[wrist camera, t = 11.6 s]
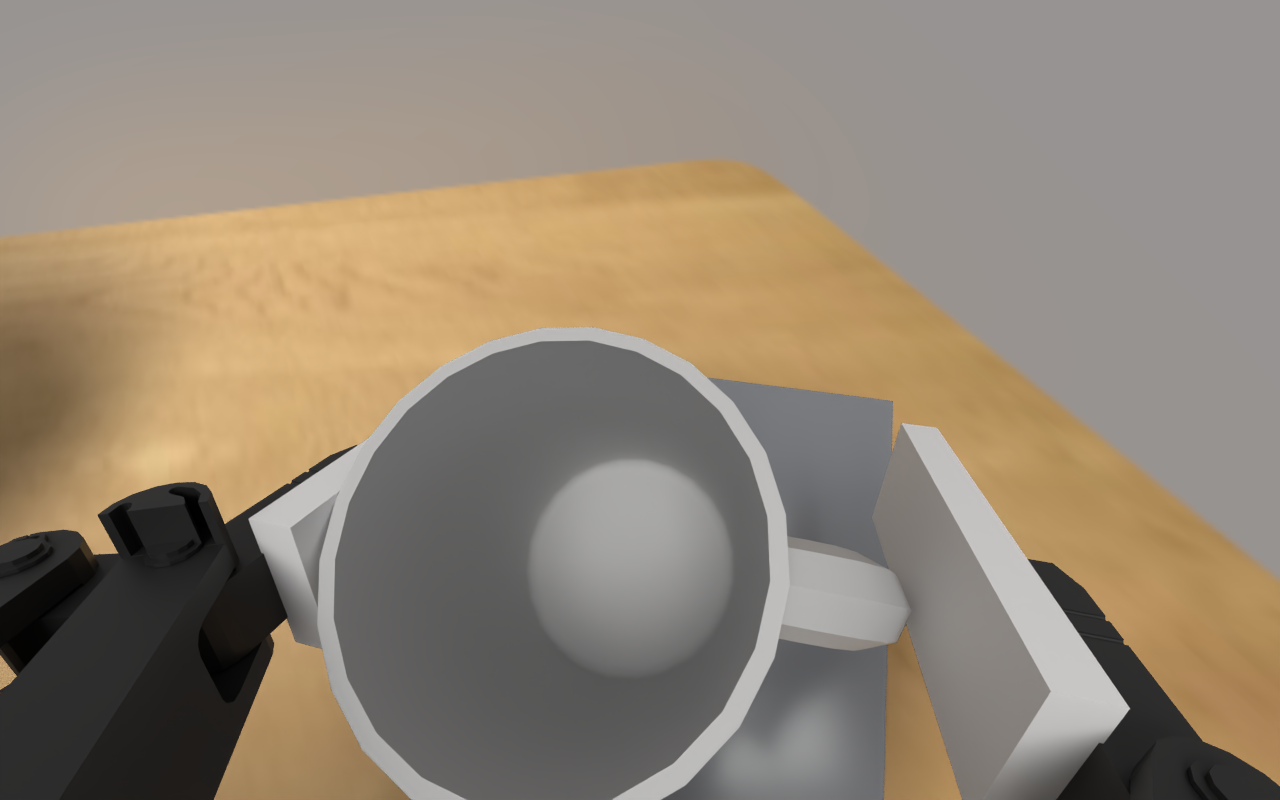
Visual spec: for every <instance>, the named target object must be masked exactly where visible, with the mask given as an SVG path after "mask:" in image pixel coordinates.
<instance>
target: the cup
mask: <svg viewBox="0 0 1280 800" xmlns="http://www.w3.org/2000/svg"><path fill="white" fill-rule="evenodd" d="M911 612H912V609H911V607H910V605H909V602H908V600H907V597H906V595H905V593H904V590H903V588H902V586H901V583H900V581H899V579H898V576H897V574H895V573H894V572H892V571H890V570H889V569H887V568H885V567H883V566H882V565H880V564H878V563H876V562H874V561H872V560H870V559H869V558H867V557H865V556H863V555H861V554H859V553H857V552H855V551H852V550H849V549H845V548H842V547H838V546H835V545H830V544H825V543H820V542H815V541H811V540H806V539H800V538H794V537H788V536H787V525H786V513H785V510H784V507H783V504H782V501H781V498H780V495H779V491H778V488H777V485H776V482H775V479H774V476H773V473H772V470H771V466H770V463H769V460H768V457H767V454H766V452H765V450H764V449H763V447H762V446H761V444H760V442H759V441H758V439H757V438H756V436H755V435H754V433H753V432H752V430H751V429H750V427H749V425H748V424H747V422H746V421H745V419H744V418H743V416H742V415H741V413H740V412H739V410H738V408H737V407H736V405H735V404H734V402H733V401H732V400H731V399H730V398H729V397H727V396H726V395H725V394H724V393H723V392H722V391H721V390H720V389H719V388H718V387H717V386H715V385H714V384H713V383H712V382H711V381H710V380H709V379H708V378H707V377H706V376H704V375H703V374H702V373H701V372H700V371H699V370H698V369H697V368H696V367H695V366H694V365H692V364H691V363H689V362H687V361H685V360H684V359H682V358H680V357H678V356H676V355H674V354H672V353H670V352H668V351H666V350H664V349H662V348H660V347H658V346H656V345H654V344H652V343H651V342H649V341H647V340H645V339H642V338H638V337H633V336H629V335H625V334H620V333H616V332H612V331H607V330H603V329H599V328H594V327H572V328H539V329H535V330H531V331H527V332H524V333H520V334H516V335H512V336H508V337H504V338H500V339H496V340H492V341H489V342H487V343H485V344H483V345H481V346H479V347H477V348H475V349H473V350H472V351H470V352H468V353H466V354H464V355H462V356H460V357H458V358H456V359H454V360H452V361H450V362H448V363H446V364H444V365H443V366H441V367H440V368H439V369H437V370H436V371H435V372H434V373H432V374H431V375H430V376H429V377H428V378H426V379H425V380H424V381H423V382H421V383H420V384H419V385H418V386H417V387H415V388H414V389H413V390H412V391H410V392H409V393H408V394H407V395H406V396H404V397H403V398H402V399H401V400H399V401H398V403H397V404H396V405H395V406H394V408H393V409H392V410H391V411H390V413H389V414H388V415H387V416H386V418H385V419H384V420H383V421H382V423H381V424H380V425H379V426H378V428H377V429H376V430H375V431H374V433H373V434H372V435H371V436H370V438H369V439H368V440H367V441H366V443H365V444H364V445H363V446H362V448H361V450H360V452H359V454H358V456H357V458H356V460H355V462H354V464H353V466H352V468H351V470H350V472H349V474H348V476H347V478H346V480H345V482H344V484H343V486H342V488H341V490H340V492H339V494H338V496H337V498H336V500H335V503H334V507H333V510H332V514H331V518H330V522H329V526H328V530H327V534H326V537H325V541H324V545H323V549H322V553H321V557H320V560H319V589H318V618H317V626H318V631H319V636H320V640H321V645H322V649H323V654H324V659H325V663H326V668H327V673H328V677H329V682H330V686H331V690H332V692H333V694H334V696H335V698H336V700H337V702H338V704H339V706H340V708H341V710H342V712H343V714H344V716H345V718H346V719H347V721H348V723H349V725H350V727H351V729H352V731H353V733H354V735H355V737H356V739H357V741H358V743H359V745H360V747H361V749H362V750H363V751H364V752H365V753H366V754H367V755H368V756H369V757H370V758H371V759H372V760H373V761H374V762H375V763H376V764H377V765H378V766H379V767H380V768H381V769H382V770H383V772H384V773H385V774H386V775H387V776H388V777H389V778H390V779H391V780H392V781H393V782H394V783H395V784H396V785H397V786H398V787H399V788H400V789H401V790H402V791H403V792H404V793H405V794H406V795H407V796H408V797H409V798H410V799H412V800H661V799H663V798H665V797H666V796H668V795H670V794H672V793H673V792H675V791H677V790H678V789H680V788H682V787H683V786H685V785H686V784H687V783H688V782H689V781H690V780H691V779H692V778H693V777H694V776H695V775H696V774H697V773H698V771H699V770H700V769H701V768H702V767H703V766H704V765H705V764H706V763H707V762H708V761H709V760H710V759H711V758H712V756H713V755H714V754H715V753H716V752H717V751H718V750H719V749H720V748H721V747H722V746H723V745H724V744H725V742H726V741H727V740H728V739H729V738H730V737H731V736H732V735H733V734H734V733H735V732H736V731H737V730H738V728H739V727H740V725H741V723H742V721H743V719H744V717H745V716H746V714H747V712H748V710H749V708H750V706H751V704H752V702H753V700H754V698H755V696H756V694H757V692H758V690H759V688H760V686H761V684H762V682H763V680H764V678H765V676H766V674H767V672H768V670H769V668H770V666H771V664H772V662H773V660H774V658H775V653H776V649H777V644H778V639H784V640H788V641H793V642H798V643H804V644H809V645H815V646H821V647H826V648H832V649H841V650H850V651H856V650H863V649H867V648H872V647H877V646H882V645H887V644H892V643H897V641H898V639H899V637H900V635H901V633H902V631H903V628H904V626H905V624H906V622H907V620H908V618H909V616H910V614H911Z"/></svg>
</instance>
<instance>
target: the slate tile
mask: <svg viewBox="0 0 1280 800" xmlns="http://www.w3.org/2000/svg"><path fill="white" fill-rule="evenodd" d="M708 379H709V380H710V381H711V382H712V383H713V384H714V385H715V386H717V387H718V388H719V389H720V390H721V391H722V392H723V393H724V394H725V395H726V396H727V397H729V398H730V399H731V400H732V401H733V402H734V404H735V405H736V407H737V408H738V410H739V412H740V413H741V415H742V416H743V418H744V419H745V421H746V422H747V424H748V425H749V427H750V429H751V430H752V432H753V433H754V435H755V436H756V438H757V439H758V441H759V442H760V444H761V446H762V447H763V449H764V450H765V452H766V454H767V457H768V460H769V463H770V466H771V470H772V473H773V476H774V479H775V482H776V485H777V488H778V491H779V495H780V498H781V501H782V504H783V507H784V510H785V513H786V525H787V536H788V537H794V538H800V539H806V540H811V541H815V542H820V543H825V544H830V545H835V546H838V547H842V548H845V549H849V550H852V551H855V552H857V553H859V554H861V555H863V556H865V557H867V558H869V559H870V560H872V561H874V562H876V563H878V564H880V565H882V566H883V567H885V568H887V569H888V565H887V562H886V559H885V556H884V553H883V550H882V547H881V543H880V540H879V537H878V534H877V531H876V528H875V525H874V522H873V518H872V516H873V513H874V510H875V507H876V503H877V500H878V497H879V494H880V490H881V487H882V484H883V481H884V478H885V474H886V471H887V468H888V465H889V461H890V458H891V455H892V420H893V401H888V400H880V399H872V398H865V397H857V396H849V395H841V394H833V393H825V392H817V391H809V390H801V389H793V388H785V387H777V386H769V385H761V384H753V383H745V382H737V381H730V380H722V379H714V378H708ZM886 682H887V645H882V646H877V647H872V648H867V649H863V650H856V651H850V650H841V649H832V648H826V647H821V646H815V645H809V644H804V643H798V642H793V641H788V640H784V639H778V644H777V649H776V653H775V658H774V660H773V662H772V664H771V666H770V668H769V670H768V672H767V674H766V676H765V678H764V680H763V682H762V684H761V686H760V688H759V690H758V692H757V694H756V696H755V698H754V700H753V702H752V704H751V706H750V708H749V710H748V712H747V714H746V716H745V717H744V719H743V721H742V723H741V725H740V727H739V728H738V730H737V731H736V732H735V733H734V734H733V735H732V736H731V737H730V738H729V739H728V740H727V741H726V742H725V744H724V745H723V746H722V747H721V748H720V749H719V750H718V751H717V752H716V753H715V754H714V755H713V756H712V758H711V759H710V760H709V761H708V762H707V763H706V764H705V765H704V766H703V767H702V768H701V769H700V770H699V771H698V773H697V774H696V775H695V776H694V777H693V778H692V779H691V780H690V781H689V782H688V783H687V784H686V785H685V786H683V787H682V788H680V789H678V790H677V791H675V792H673V793H672V794H670V795H668V796H666V797H665V798H663V799H661V800H884V769H885V725H886Z"/></svg>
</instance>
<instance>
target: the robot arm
mask: <svg viewBox="0 0 1280 800" xmlns="http://www.w3.org/2000/svg"><path fill="white" fill-rule="evenodd" d="M368 439H369V438H368ZM368 439H367V440H368ZM367 440H365V441H364V442H362V443H361V444H359V445H355V446H353V447H350V448H348V449H345V450H343V451H340V452H338V453H335V454H333V455H330V456H329V457H327V458H326V459H324V460H323V461H321V462H319V463H318V464H316V465H315V466H313V467H312V468H310V469H309V472H304V473H303V474H301V475H300V476H298V477H296V478H295V479H293V480H292V482H291V484H286V485H284V486H283V487H281V488H280V489H278V490H277V491H275V492H273V493H272V494H270V495H269V496H267V497H266V498H264V499H263V500H261V501H260V502H258V503H257V504H255V505H254V506H252V507H250V508H249V509H247V510H246V511H244V512H243V513H241V514H240V515H238V516H237V517H235V518H234V519H232V520H231V521H229V522H227V523H226V524H224V522H223V519H222V517H221V514H220V512H219V510H218V507H217V505H216V502H215V500H214V498H213V495H212V493H211V491H210V490H209V488H208V487H207V485H203V484H199V483H196V482H185V483H173V484H168V485H162V486H157V487H154V488H151V489H147V490H144V491H141V492H138V493H135V494H133V495H131V496H128V497H126V498H124V499H122V500H120V501H118V502H116V503H114V504H112V505H111V506H109V507H108V508H107V509H105V510H104V511H102V512H101V513H100V514H98V517H99V519H100V521H101V522H102V524H103V526H104V528H105V530H106V531H107V533H108V535H109V537H110V539H111V541H112V542H113V544H114V546H115V548H116V550H117V551H118V553H119V554H99V555H93V553H92V552H91V550H90V548H89V547H88V545H87V543H86V541H85V540H84V538H83V537H82V536H81V535H80V534H79V533H78V532H76V531H69V530H58V531H48V532H40V533H35V534H31V535H30V536H28V535H26V536H23V537H19V538H16V539H14V540H12V541H10V542H9V543H6V544H3V545H1V546H0V655H1V656H2V658H3V659H4V660H5V661H6V663H7V664H8V665H9V667H10V668H11V669H12V670H13V672H14V673H15V674H16V676H17V677H16V678H15V679H14V680H13V681H12V682H11V684H9V685H7V686H6V687H4V688H3V689H1V690H0V800H214V797H215V795H216V792H217V790H218V787H219V785H220V782H221V780H222V778H223V775H224V773H225V770H226V768H227V765H228V763H229V760H230V758H231V755H232V753H233V750H234V748H235V746H236V743H237V741H238V738H239V736H240V733H241V731H242V728H243V726H244V723H245V721H246V718H247V716H248V714H249V711H250V709H251V706H252V704H253V701H254V699H255V696H256V694H257V691H258V689H259V687H260V684H261V682H262V679H263V677H264V674H265V672H266V669H267V667H268V664H269V662H270V659H271V657H272V654H273V648H274V642H273V640H272V637H271V635H270V633H271V632H272V631H273V630H275V629H276V628H277V627H278V626H279V625H280V624H281V623H282V622H283V621H284V620H285V619H286V618H287V621H288V623H289V626H290V628H291V631H292V634H293V636H294V639H295V641H296V642H298V643H302V644H305V645H309V646H313V647H317V648H320V649H322V645H321V640H320V636H319V631H318V626H317V618H318V589H319V560H320V557H321V553H322V549H323V545H324V541H325V537H326V534H327V530H328V526H329V522H330V518H331V514H332V510H333V507H334V503H335V500H336V498H337V496H338V494H339V492H340V490H341V488H342V486H343V484H344V482H345V480H346V478H347V476H348V474H349V472H350V470H351V468H352V466H353V464H354V462H355V460H356V458H357V456H358V454H359V452H360V450H361V448H362V446H363V445H364V444H365V443H366V441H367ZM872 518H873V522H874V525H875V528H876V531H877V534H878V537H879V540H880V543H881V547H882V550H883V553H884V556H885V559H886V562H887V565H888V569H889V570H890V571H892V572H894V573H895V574H897V576H898V579H899V581H900V583H901V586H902V588H903V590H904V593H905V595H906V597H907V600H908V602H909V605H910V607H911V609H912V612H911V614H910V616H909V618H908V620H907V622H906V625H907V628H908V631H909V634H910V638H911V641H912V644H913V647H914V650H915V653H916V656H917V659H918V663H919V666H920V669H921V672H922V675H923V678H924V681H925V685H926V688H927V691H928V694H929V697H930V700H931V703H932V706H933V710H934V713H935V716H936V719H937V722H938V725H939V728H940V732H941V735H942V738H943V741H944V744H945V747H946V750H947V753H948V757H949V760H950V763H951V766H952V769H953V772H954V775H955V779H956V782H957V785H958V788H959V791H960V794H961V797H962V800H1280V786H1279V785H1277V784H1276V783H1275V782H1274V781H1272V780H1271V779H1270V778H1269V777H1267V776H1266V775H1265V774H1264V773H1262V772H1260V771H1259V770H1257V769H1255V768H1254V767H1252V766H1250V765H1249V764H1247V763H1246V762H1244V761H1242V760H1241V759H1239V758H1237V757H1236V756H1234V755H1233V754H1231V753H1229V752H1227V751H1224V750H1222V749H1219V748H1217V747H1215V746H1212V745H1210V744H1208V743H1205V742H1203V741H1202V740H1201V738H1200V737H1199V736H1198V735H1197V733H1196V732H1195V731H1194V729H1193V728H1192V727H1191V726H1190V724H1189V723H1188V722H1187V720H1186V719H1185V718H1184V717H1183V715H1182V714H1181V713H1180V711H1179V710H1178V709H1177V708H1176V706H1175V705H1174V704H1173V702H1172V701H1171V700H1170V699H1169V697H1168V696H1167V695H1166V693H1165V692H1164V691H1163V690H1162V688H1161V687H1160V686H1159V684H1158V683H1157V682H1156V680H1155V679H1154V678H1153V677H1152V675H1151V674H1150V673H1149V671H1148V670H1147V669H1146V668H1145V666H1144V665H1143V664H1142V662H1141V661H1140V660H1139V659H1138V657H1137V656H1136V655H1135V653H1134V652H1133V651H1132V650H1131V648H1130V647H1129V646H1127V645H1124V643H1123V640H1124V639H1123V638H1122V637H1121V635H1120V634H1119V633H1118V632H1117V630H1116V629H1115V628H1114V626H1113V625H1112V624H1111V622H1109V621H1106V620H1105V615H1104V613H1103V612H1102V611H1101V610H1100V608H1099V607H1098V606H1097V604H1096V603H1095V602H1094V601H1093V599H1092V598H1091V597H1090V595H1089V594H1088V593H1087V592H1086V590H1085V589H1084V588H1083V587H1082V586H1080V585H1079V584H1078V583H1077V582H1075V581H1074V580H1073V579H1072V578H1070V577H1069V576H1068V575H1067V574H1065V573H1064V572H1063V571H1062V570H1060V569H1059V568H1058V567H1057V566H1055V565H1054V564H1053V563H1048V562H1042V561H1036V560H1030V559H1027V558H1026V556H1025V555H1024V554H1023V552H1022V551H1021V549H1020V548H1019V546H1018V545H1017V543H1016V542H1015V540H1014V539H1013V538H1012V536H1011V535H1010V533H1009V532H1008V530H1007V529H1006V527H1005V526H1004V524H1003V523H1002V522H1001V520H1000V519H999V517H998V516H997V514H996V513H995V511H994V510H993V508H992V507H991V506H990V504H989V503H988V501H987V500H986V498H985V497H984V495H983V494H982V492H981V491H980V490H979V488H978V487H977V485H976V484H975V482H974V481H973V479H972V478H971V476H970V475H969V474H968V472H967V471H966V469H965V468H964V466H963V465H962V463H961V462H960V460H959V459H958V458H957V456H956V455H955V453H954V452H953V450H952V449H951V447H950V446H949V444H948V443H947V442H946V440H945V439H944V437H943V436H942V434H941V433H940V431H939V430H938V428H935V427H927V426H919V425H912V424H904V423H901V426H900V429H899V432H898V436H897V439H896V442H895V445H894V449H893V452H892V455H891V458H890V461H889V465H888V468H887V471H886V474H885V478H884V481H883V484H882V487H881V490H880V494H879V497H878V500H877V503H876V507H875V510H874V513H873V516H872Z"/></svg>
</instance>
